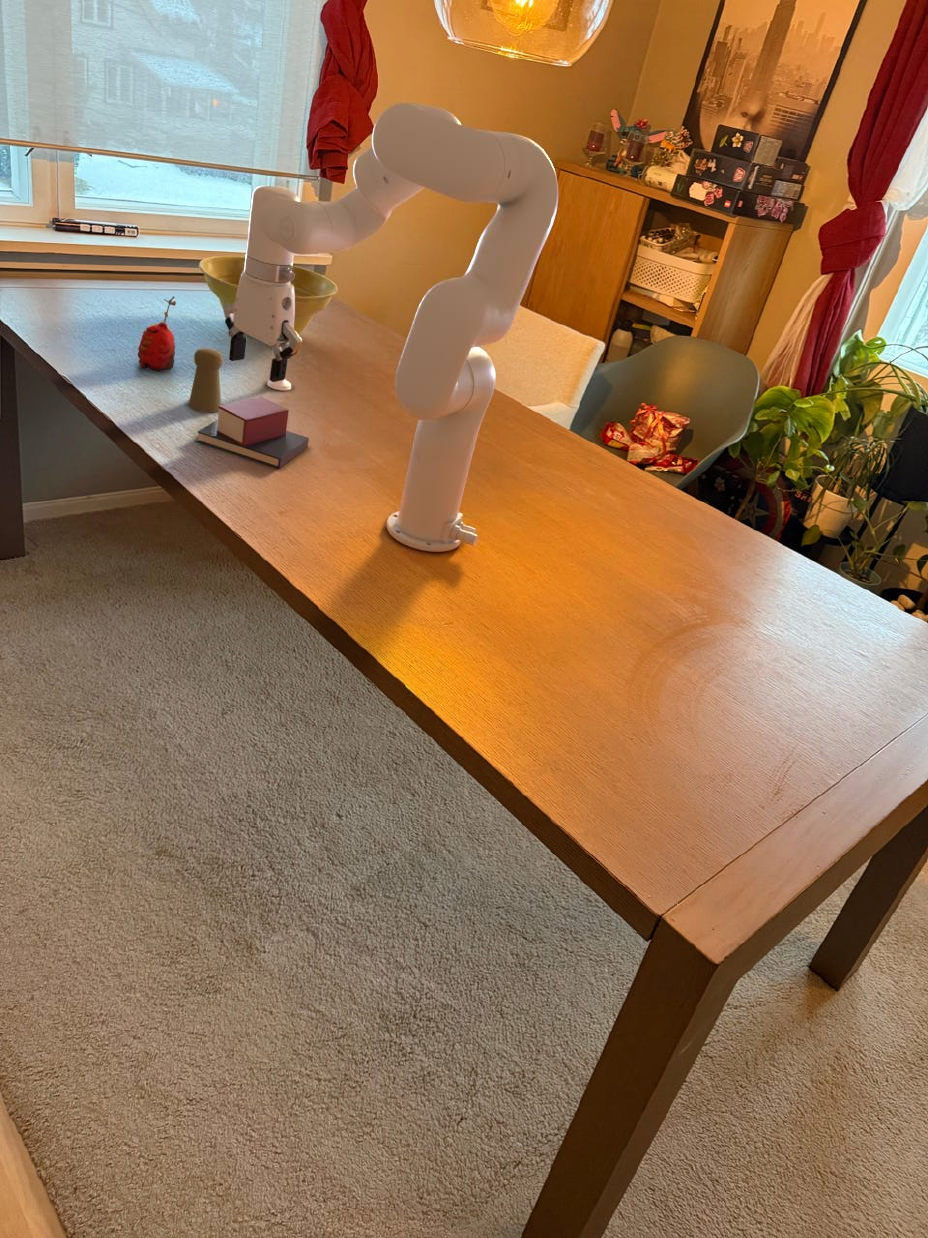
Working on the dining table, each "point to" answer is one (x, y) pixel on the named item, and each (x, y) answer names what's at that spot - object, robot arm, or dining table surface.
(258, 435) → the pocket dictionary
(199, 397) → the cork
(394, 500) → the dining table surface
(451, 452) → the robot arm
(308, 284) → the planter bowl
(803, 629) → the dining table surface
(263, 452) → the slate hardcover
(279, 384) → the chess piece
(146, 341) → the red clay folk toy
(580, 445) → the dining table surface
